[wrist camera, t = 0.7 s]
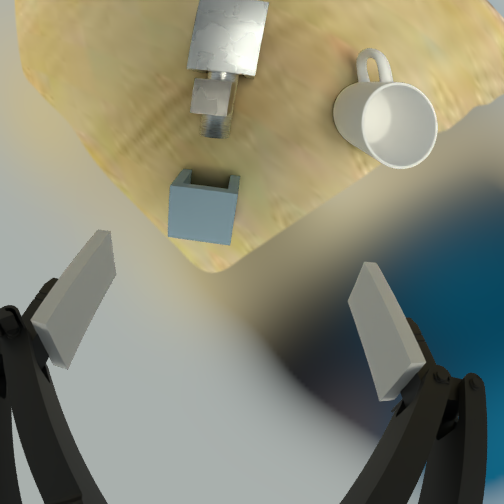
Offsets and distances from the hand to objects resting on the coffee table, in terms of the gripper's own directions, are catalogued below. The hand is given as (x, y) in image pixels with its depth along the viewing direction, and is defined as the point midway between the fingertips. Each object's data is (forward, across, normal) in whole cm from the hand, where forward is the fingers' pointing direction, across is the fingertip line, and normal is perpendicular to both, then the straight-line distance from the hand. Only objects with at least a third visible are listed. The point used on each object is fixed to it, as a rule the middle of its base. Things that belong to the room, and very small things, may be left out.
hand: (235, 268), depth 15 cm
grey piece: (+22, -3, +10) cm, 24 cm away
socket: (+22, -4, -6) cm, 23 cm away
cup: (+23, +12, +10) cm, 28 cm away
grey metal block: (+23, -3, +14) cm, 27 cm away
